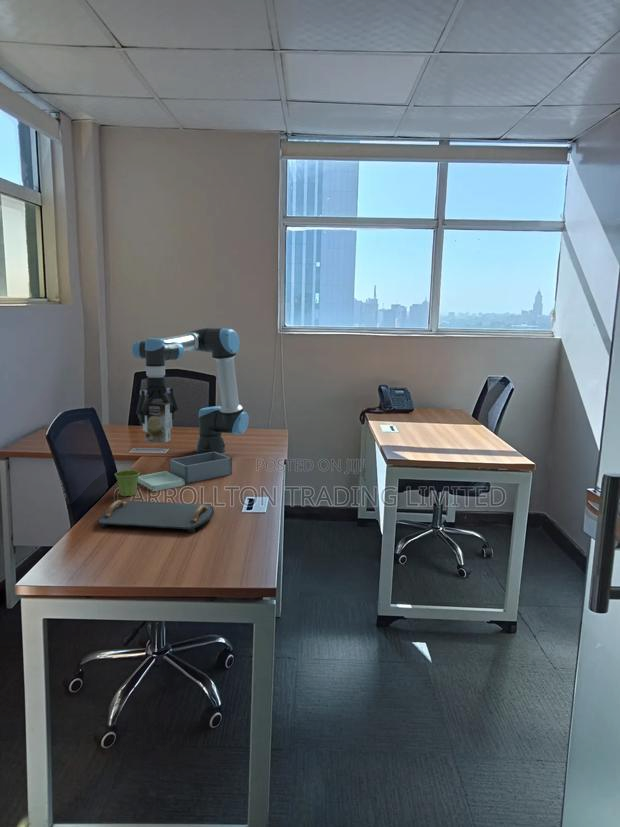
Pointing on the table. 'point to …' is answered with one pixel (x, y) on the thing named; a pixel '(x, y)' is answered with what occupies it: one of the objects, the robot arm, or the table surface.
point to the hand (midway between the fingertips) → (157, 429)
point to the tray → (160, 481)
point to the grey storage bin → (201, 466)
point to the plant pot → (127, 482)
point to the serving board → (156, 514)
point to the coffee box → (158, 422)
